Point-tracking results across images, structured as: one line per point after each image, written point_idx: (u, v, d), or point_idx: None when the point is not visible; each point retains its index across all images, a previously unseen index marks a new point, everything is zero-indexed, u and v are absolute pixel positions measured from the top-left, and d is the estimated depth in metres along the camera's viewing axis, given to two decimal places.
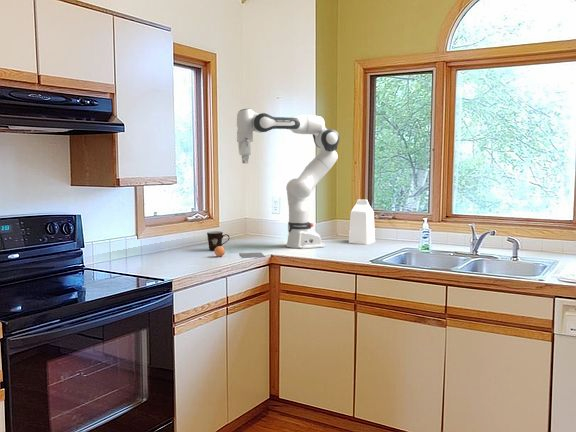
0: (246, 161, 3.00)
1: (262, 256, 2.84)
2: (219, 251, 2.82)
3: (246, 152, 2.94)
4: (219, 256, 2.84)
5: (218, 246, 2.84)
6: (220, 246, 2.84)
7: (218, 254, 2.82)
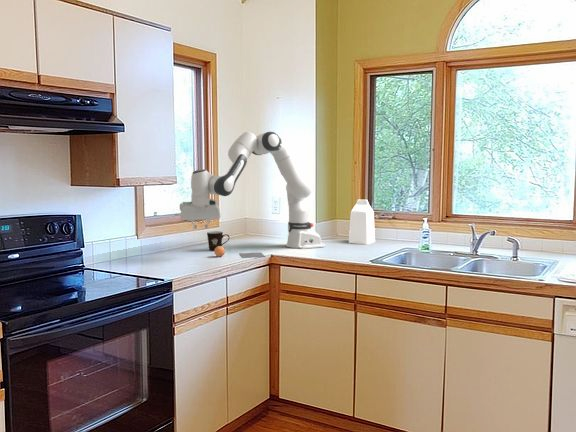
0: (193, 226, 2.80)
1: (262, 256, 2.84)
2: (219, 251, 2.82)
3: None
4: (219, 256, 2.84)
5: (218, 246, 2.84)
6: (220, 246, 2.84)
7: (218, 254, 2.82)
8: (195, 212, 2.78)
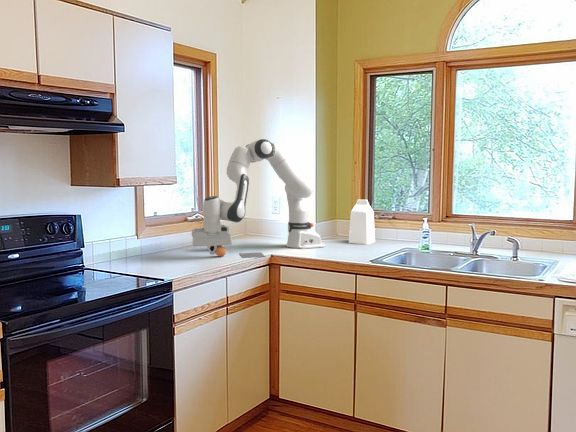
0: None
1: (262, 256, 2.84)
2: (220, 251, 2.82)
3: (192, 243, 2.82)
4: (219, 256, 2.84)
5: (220, 246, 2.84)
6: None
7: (218, 253, 2.82)
8: (207, 238, 2.81)
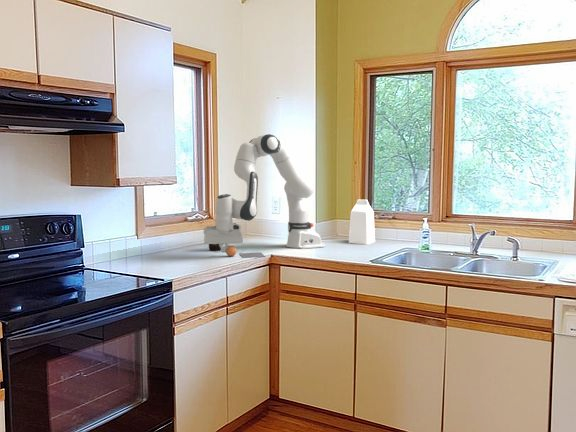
0: (221, 250, 2.85)
1: (262, 256, 2.84)
2: (232, 251, 2.83)
3: (204, 240, 2.82)
4: (227, 252, 2.84)
5: None
6: (236, 250, 2.86)
7: (229, 250, 2.83)
8: (219, 236, 2.82)
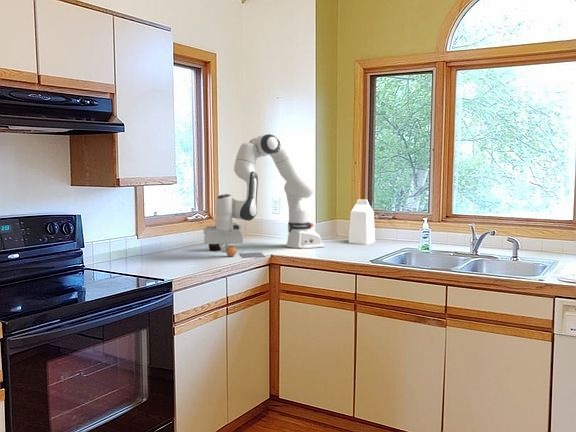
0: (221, 250, 2.85)
1: (262, 256, 2.84)
2: (232, 251, 2.83)
3: (204, 240, 2.82)
4: (227, 252, 2.84)
5: None
6: (236, 250, 2.86)
7: (229, 250, 2.83)
8: (219, 236, 2.82)
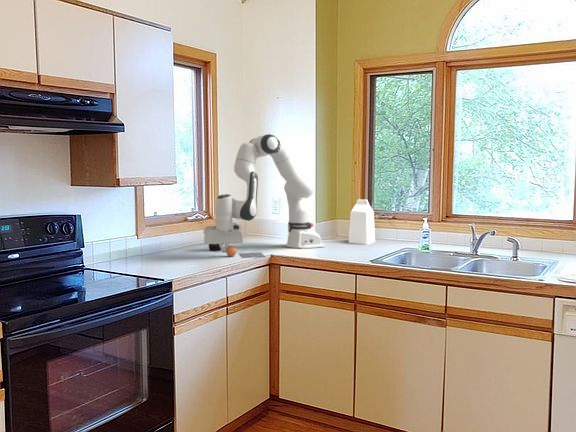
0: (221, 250, 2.85)
1: (262, 256, 2.84)
2: (232, 251, 2.83)
3: (204, 241, 2.82)
4: (227, 252, 2.84)
5: None
6: (236, 250, 2.86)
7: (229, 250, 2.83)
8: (219, 236, 2.82)
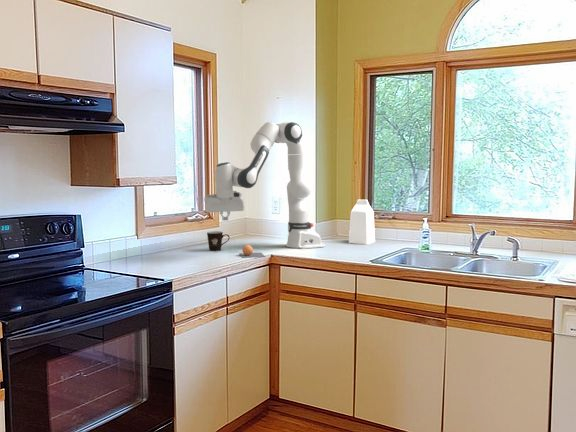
0: (222, 218, 2.86)
1: (262, 256, 2.84)
2: (248, 251, 2.85)
3: (205, 209, 2.84)
4: (252, 249, 2.87)
5: (243, 252, 2.87)
6: None
7: (250, 252, 2.86)
8: (219, 204, 2.83)
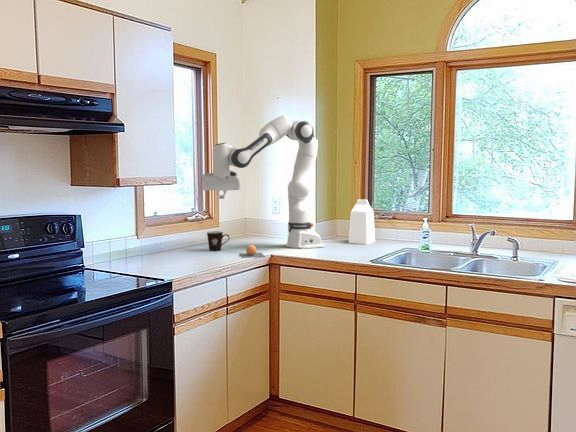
0: None
1: (262, 256, 2.84)
2: (251, 251, 2.86)
3: (202, 187, 2.94)
4: (255, 252, 2.88)
5: (246, 249, 2.87)
6: (247, 247, 2.87)
7: (252, 253, 2.86)
8: (216, 183, 2.93)
